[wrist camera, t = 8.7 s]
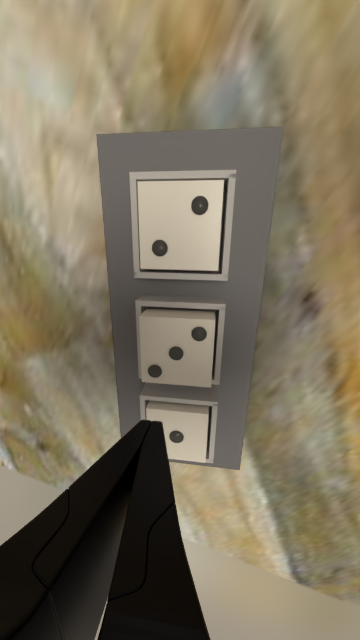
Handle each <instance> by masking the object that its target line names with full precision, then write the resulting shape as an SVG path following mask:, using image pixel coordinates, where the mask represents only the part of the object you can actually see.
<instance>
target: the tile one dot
mask: <svg viewBox="0 0 360 640" xmlns="http://www.w3.org/2000/svg"><path fill="white" fill-rule="evenodd" d="M208 417H209V406H207V405H196V404H185V403H174V402H163V401H152V400H149V402H148V405H147V407H146V418H147V420H151V421H161V422H162V423H163V429H164V435H165V441H166V447H167V454H168V459H176V460H185V461H193V462H202V463H206V447H207V432H208Z"/></svg>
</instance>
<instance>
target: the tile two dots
mask: <svg viewBox="0 0 360 640" xmlns="http://www.w3.org/2000/svg"><path fill="white" fill-rule="evenodd" d="M137 184H138V211H139V238H140V265H141V269H167V270H205V271H218V265H219V250H220V234H221V219H222V204H223V188H224V180H195V181H137Z"/></svg>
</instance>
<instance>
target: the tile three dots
mask: <svg viewBox="0 0 360 640" xmlns="http://www.w3.org/2000/svg"><path fill="white" fill-rule="evenodd" d="M139 327H140V351H141V375H142V382H148V383H160V384H172V385H185V386H197V387H209V388H211V380H212V365H213V350H214V335H215V312H210V311H189V310H167V309H146V310H145V311H144V312H143V313H142V314H141V315H140V316H139Z"/></svg>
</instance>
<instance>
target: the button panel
mask: <svg viewBox="0 0 360 640" xmlns="http://www.w3.org/2000/svg"><path fill="white" fill-rule="evenodd" d="M282 133H283V127H264V128H240V129H216V130H191V131H167V132H143V133H119V134H97V146H98V159H99V171H100V183H101V196H102V208H103V220H104V233H105V245H106V258H107V270H108V282H109V295H110V307H111V319H112V332H113V344H114V356H115V369H116V381H117V393H118V406H119V418H120V430H121V438H122V437H123V436H124V435H125V434H126V433H127V432H129V431H130V430H131V429H132V428H133V427H134V426H135V425H136V424H137V423H138V422H139V421H140V420H147V418H146V407H147V405H148V402H149V400H152V401H163V402H174V403H185V404H196V405H207V406H209V417H208V432H207V447H206V463H202V462H193V461H185V460H176V459H168V460H169V462H177V463H185V464H194V465H202V466H210V467H219V468H227V469H235V470H240V463H241V455H242V447H243V439H244V431H245V423H246V416H247V408H248V400H249V392H250V384H251V376H252V368H253V361H254V353H255V345H256V337H257V329H258V321H259V314H260V306H261V298H262V290H263V282H264V274H265V266H266V259H267V251H268V243H269V235H270V227H271V219H272V212H273V204H274V196H275V188H276V180H277V172H278V164H279V157H280V149H281V141H282ZM195 180H224V188H223V204H222V219H221V234H220V250H219V265H218V271H205V270H167V269H141V265H140V238H139V211H138V184H137V181H195ZM146 309H167V310H189V311H210V312H215V335H214V350H213V365H212V380H211V388H209V387H197V386H185V385H172V384H160V383H148V382H142V375H141V351H140V327H139V316H140V315H141V314H142V313H143V312H144V311H145V310H146Z"/></svg>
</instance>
